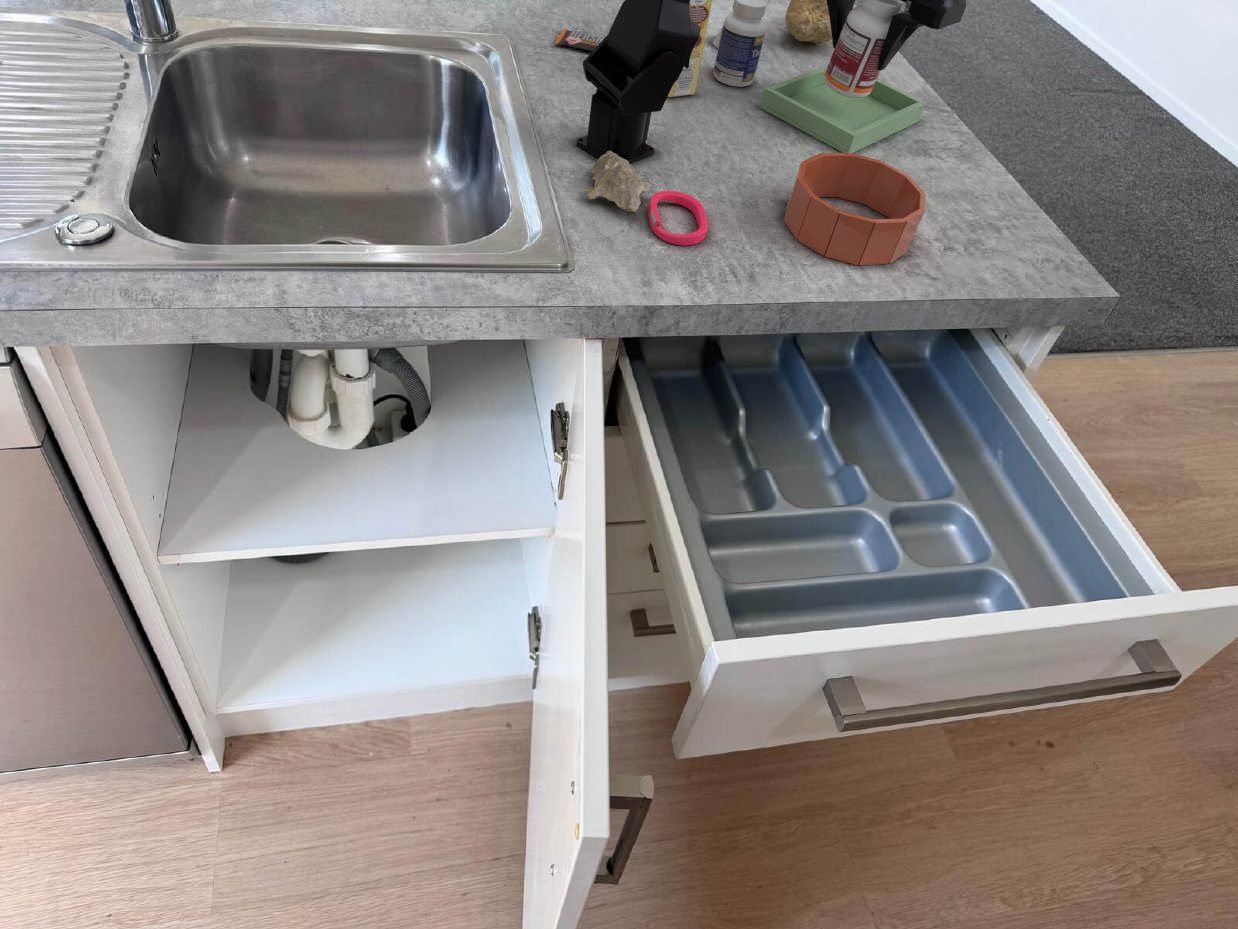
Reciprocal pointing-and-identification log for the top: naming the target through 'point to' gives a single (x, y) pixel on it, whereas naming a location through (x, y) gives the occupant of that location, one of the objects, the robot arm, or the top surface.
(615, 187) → the artifact
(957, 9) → the robot arm
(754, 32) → the pill bottle
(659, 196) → the fitness band
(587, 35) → the chocolate bar
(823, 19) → the tan rock
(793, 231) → the segmented terracotta ring
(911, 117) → the tray
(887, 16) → the pill bottle
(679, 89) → the candy box
